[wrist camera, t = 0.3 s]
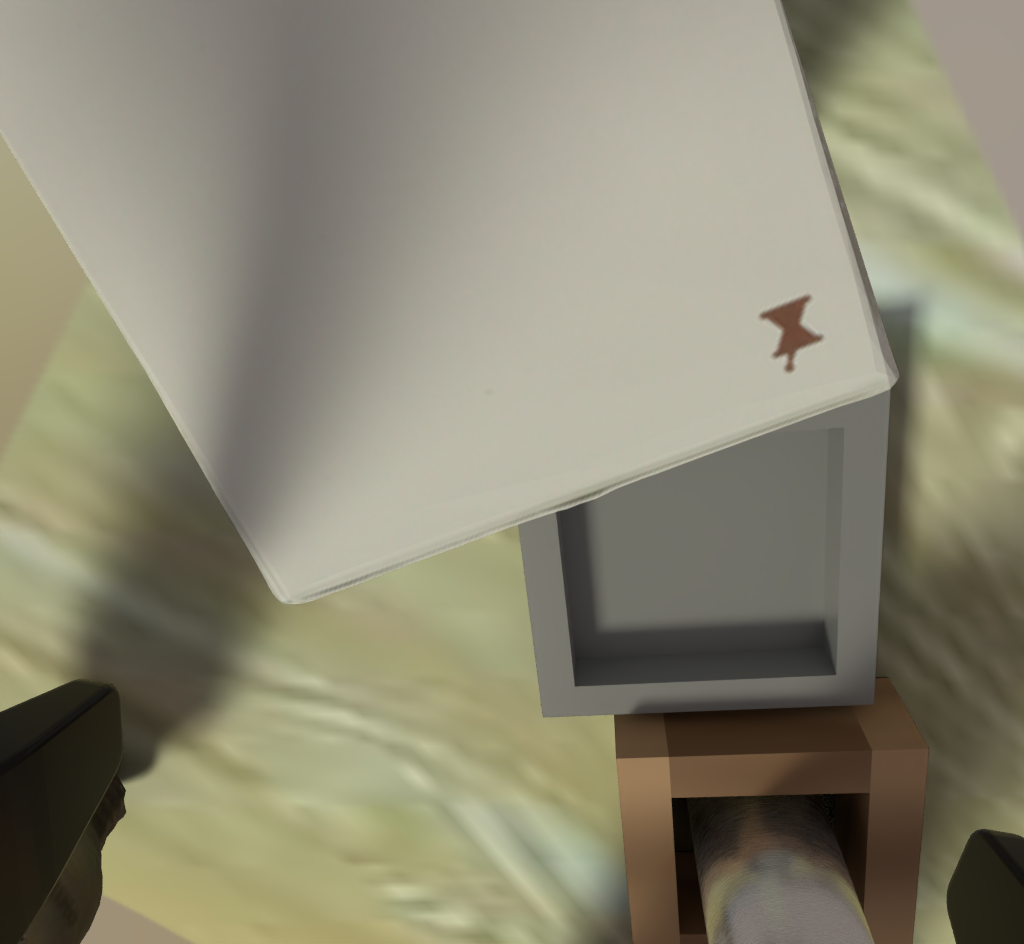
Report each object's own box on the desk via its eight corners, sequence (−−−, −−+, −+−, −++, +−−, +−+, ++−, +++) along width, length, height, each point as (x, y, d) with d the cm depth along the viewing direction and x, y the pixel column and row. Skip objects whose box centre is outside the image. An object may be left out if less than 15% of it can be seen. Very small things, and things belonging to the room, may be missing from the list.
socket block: (876, 881, 26) (910, 967, 23) (630, 884, 27) (635, 967, 24) (888, 677, 23) (929, 748, 20) (612, 689, 24) (616, 758, 21)
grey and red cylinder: (813, 835, 26) (921, 1162, 17) (687, 838, 26) (734, 1156, 18) (816, 735, 24) (934, 1038, 16) (682, 739, 25) (729, 1036, 16)
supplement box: (615, -72, 17) (672, -562, 5) (723, 256, 19) (930, 409, 8) (320, 82, 19) (-126, -38, 7) (451, 368, 21) (278, 634, 9)
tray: (853, 664, 23) (873, 704, 22) (546, 678, 24) (542, 717, 23) (865, 363, 20) (890, 382, 18) (511, 395, 21) (504, 416, 19)
